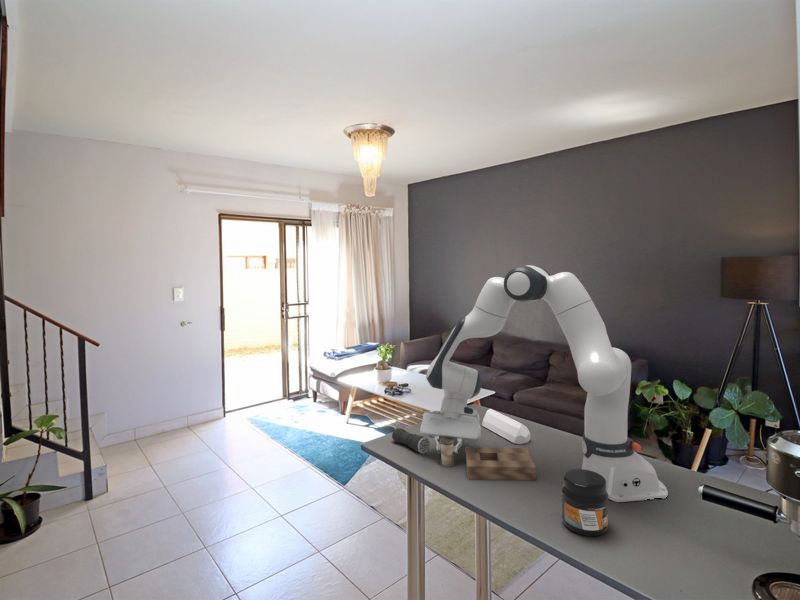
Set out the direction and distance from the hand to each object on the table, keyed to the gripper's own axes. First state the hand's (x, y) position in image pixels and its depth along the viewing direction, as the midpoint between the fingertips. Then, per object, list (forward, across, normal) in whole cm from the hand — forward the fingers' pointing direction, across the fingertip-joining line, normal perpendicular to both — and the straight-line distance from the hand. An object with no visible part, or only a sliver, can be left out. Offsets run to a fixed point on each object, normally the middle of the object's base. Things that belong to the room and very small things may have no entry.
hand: (446, 451), depth 140 cm
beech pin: (+3, 0, +4) cm, 4 cm away
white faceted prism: (-19, +14, +26) cm, 36 cm away
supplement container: (+19, +40, -12) cm, 46 cm away
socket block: (+2, +16, +4) cm, 17 cm away
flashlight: (-4, -16, +11) cm, 20 cm away
